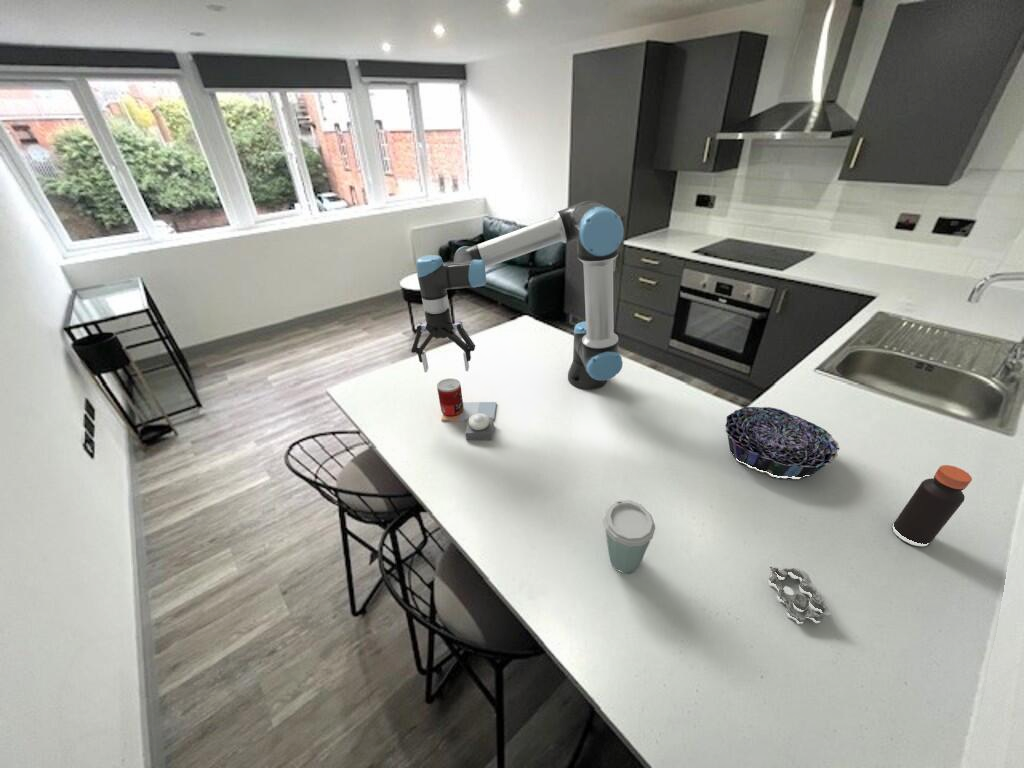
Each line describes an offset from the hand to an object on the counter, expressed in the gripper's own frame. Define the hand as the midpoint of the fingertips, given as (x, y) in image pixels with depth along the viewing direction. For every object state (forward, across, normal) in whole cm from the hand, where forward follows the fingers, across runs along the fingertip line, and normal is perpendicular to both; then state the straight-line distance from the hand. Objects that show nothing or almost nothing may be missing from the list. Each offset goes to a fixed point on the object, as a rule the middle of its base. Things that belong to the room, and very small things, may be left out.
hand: (446, 369), depth 135 cm
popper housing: (+18, -11, +11) cm, 23 cm away
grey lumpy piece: (+19, -82, +65) cm, 106 cm away
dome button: (+16, -11, +11) cm, 22 cm away
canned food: (+17, 0, 0) cm, 17 cm away
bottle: (+19, -116, +49) cm, 127 cm away
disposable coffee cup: (+18, -49, +57) cm, 77 cm away
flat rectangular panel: (+18, -6, 0) cm, 18 cm away
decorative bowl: (+19, -97, +22) cm, 101 cm away
